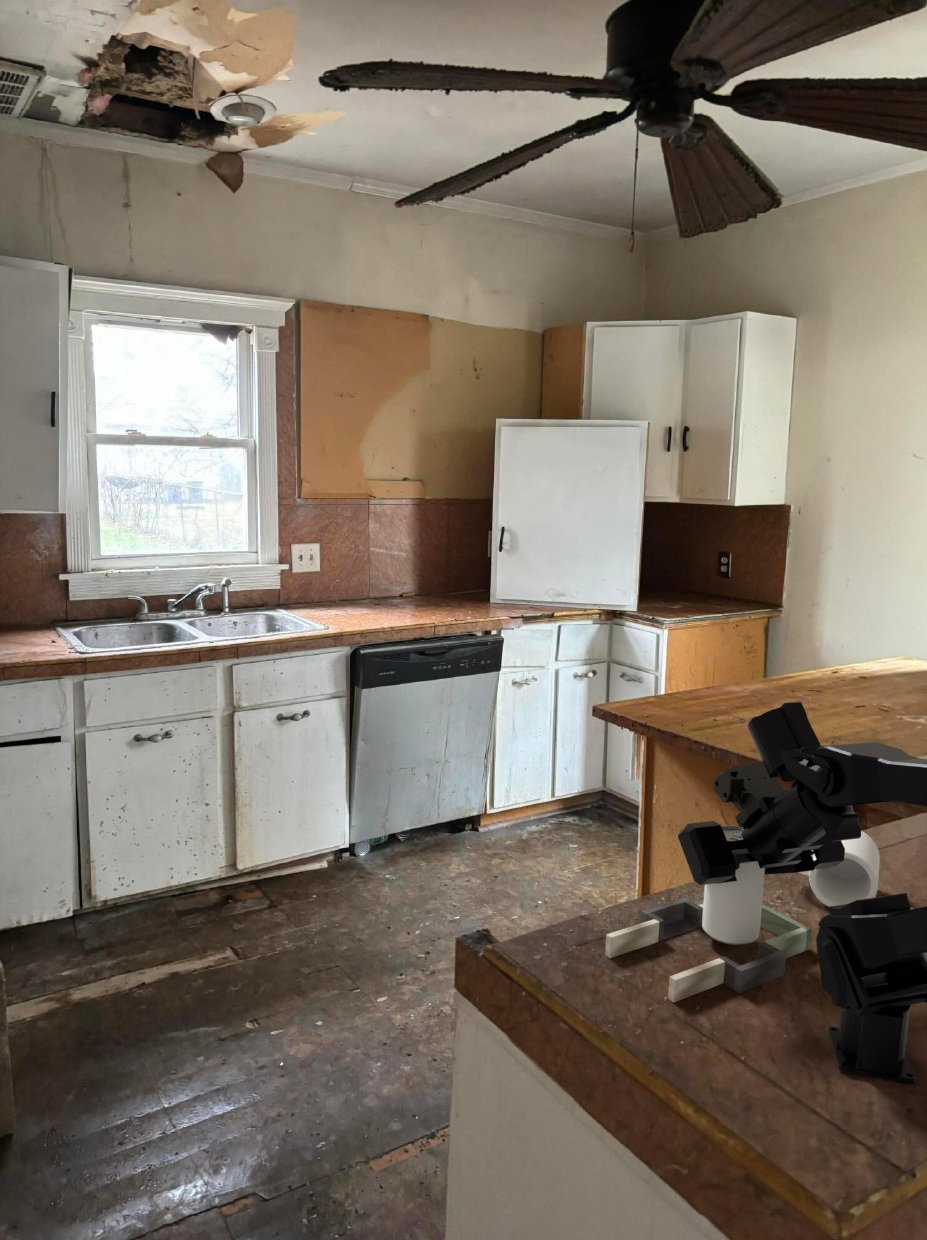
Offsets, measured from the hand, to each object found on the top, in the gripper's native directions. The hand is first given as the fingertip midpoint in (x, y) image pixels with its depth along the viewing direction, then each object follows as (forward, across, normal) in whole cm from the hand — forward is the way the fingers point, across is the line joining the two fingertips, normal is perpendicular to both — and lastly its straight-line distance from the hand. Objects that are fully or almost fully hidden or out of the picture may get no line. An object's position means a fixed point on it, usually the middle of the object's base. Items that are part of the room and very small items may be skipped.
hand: (726, 874), depth 104 cm
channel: (+4, +4, +7) cm, 9 cm away
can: (+4, 0, +6) cm, 7 cm away
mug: (+10, -21, +1) cm, 23 cm away
